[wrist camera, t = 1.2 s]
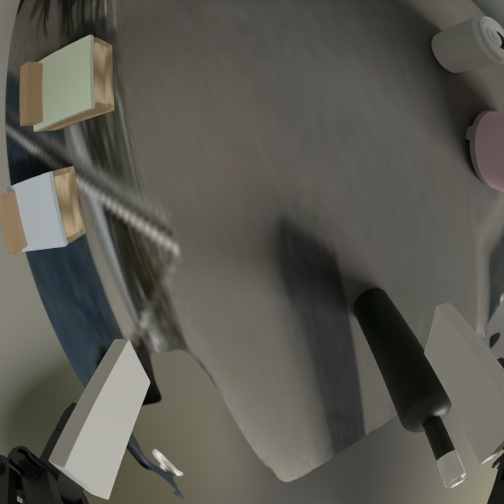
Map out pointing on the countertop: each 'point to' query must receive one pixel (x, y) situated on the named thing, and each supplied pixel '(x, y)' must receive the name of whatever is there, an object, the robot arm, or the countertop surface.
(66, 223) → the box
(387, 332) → the wine bottle
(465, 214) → the countertop surface
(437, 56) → the beverage can
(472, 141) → the blender
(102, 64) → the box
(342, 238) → the countertop surface
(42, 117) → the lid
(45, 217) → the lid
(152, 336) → the countertop surface
